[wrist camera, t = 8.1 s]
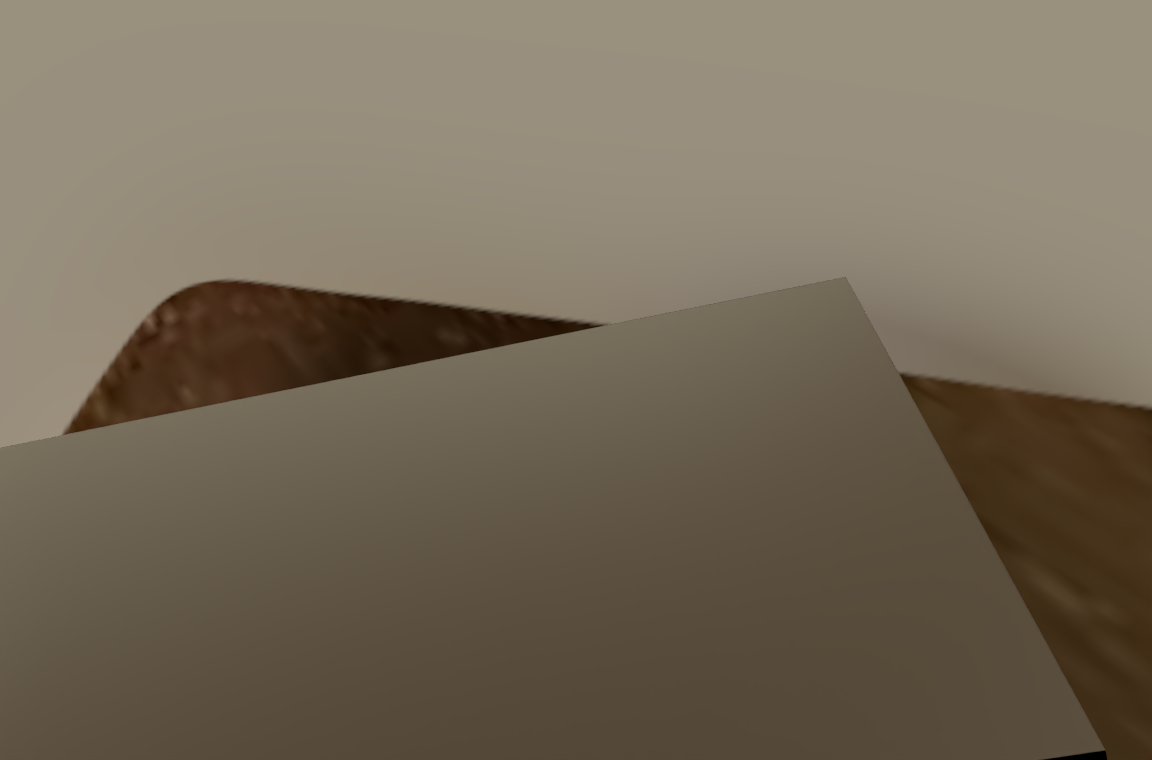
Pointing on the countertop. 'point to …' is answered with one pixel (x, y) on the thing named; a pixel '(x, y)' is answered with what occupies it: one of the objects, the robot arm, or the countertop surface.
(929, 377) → the countertop surface
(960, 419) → the countertop surface
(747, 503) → the pale banded rectangular block
